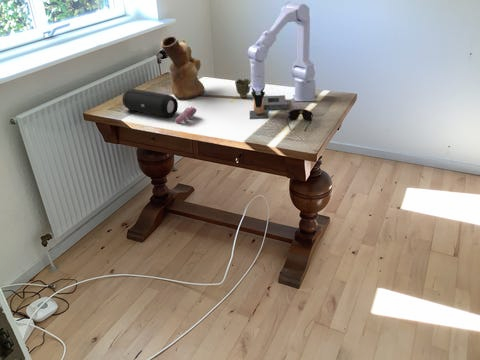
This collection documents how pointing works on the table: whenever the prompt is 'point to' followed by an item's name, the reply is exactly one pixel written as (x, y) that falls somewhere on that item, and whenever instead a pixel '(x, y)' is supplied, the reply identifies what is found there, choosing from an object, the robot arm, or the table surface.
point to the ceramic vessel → (183, 69)
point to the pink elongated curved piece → (186, 115)
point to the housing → (275, 102)
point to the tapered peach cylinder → (259, 109)
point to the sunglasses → (295, 114)
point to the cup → (243, 87)
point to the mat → (258, 115)
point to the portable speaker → (150, 102)
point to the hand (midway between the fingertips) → (258, 104)
